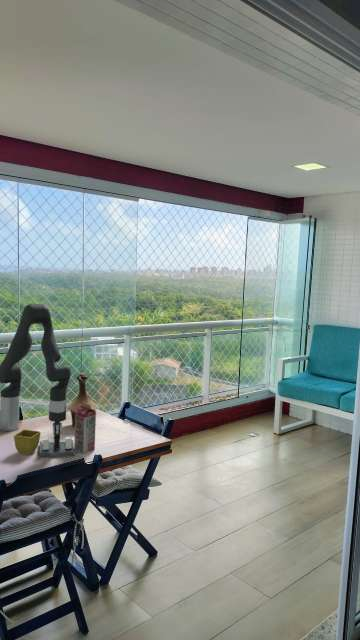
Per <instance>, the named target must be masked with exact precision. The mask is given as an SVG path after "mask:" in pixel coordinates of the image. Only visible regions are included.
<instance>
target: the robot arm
mask: <svg viewBox="0 0 360 640" xmlns="http://www.w3.org/2000/svg"><path fill="white" fill-rule="evenodd" d="M37 324H38V325H40V324H41V325H42V327H43V336H42V339H41V343H40V349H41V352H42V354H43V357H44V360H45V373H46V378H47V379H48V380H49V381H50V382H51V383H54V382H55V383H56V384H55V385H54V386H51V387H50V391H49V404H48V420H49V421H50V422H53V423H52V433H53V434H52V435H53V440H54V447H59V439H60V440H61V435H62V427H63V424H62V422H64V421H66V419H67V389H68V385H69V383H70V380H71V376H72V375H71V374H72V371H71V368H70V366H69V365H67V364H59V365H55V364H57V363H58V362H60V361H61V359H62V355H61V353H60V349H59V347H58V344H57V341H56V337H55V332H54V327H53V321H52V317H51V313H50V309H49V307H48V305H46V304H43V303H34V304H33V303H32V304H26V305H25V306H24V308H23V310H22V313H21V316H20V320H19V324H18V326H17V330H15V334H14V336H13V338H12V340H11V342H10V345H9V348H8V350H7V352H6V354H5V357H3V360H2V362H1V363H0V383H1V384H8V385H7V386H6V387H4V388H2V389H1V390H0V431H3V432H4V431H6V432H10V431H16V430H18V429H19V428H20V396H21V395H20V393H21V392H20V391H21V385H22V369H21V368H22V367H21V366H20V365H19V364H17V363H19V362H20V361H22V360H23V359H24V358H25V357H26V356H27V355H28V354H29V352H30V349H31V348H32V346H33V337H32V335H31V333H30V328H31V326H32V325H37ZM57 382H58V383H57Z"/></svg>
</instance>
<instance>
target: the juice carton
mask: <svg viewBox="0 0 360 640" xmlns="http://www.w3.org/2000/svg"><path fill="white" fill-rule="evenodd" d="M96 417H97V411H96V410H93V409H91V405H89V404H85V403H82V402H81V406H80V407H79V408H78V409H77V410H76V411H75V427H74V440H73V446H74V451H76V452H79V453H81V454H87V453H91V452H94V451H95V450H96V449H95V447H96V445H95V444H96V426H97V425H96V423H97V421H96V420H97V419H96Z"/></svg>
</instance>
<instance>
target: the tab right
mask: <svg viewBox="0 0 360 640" xmlns="http://www.w3.org/2000/svg"><path fill="white" fill-rule="evenodd" d="M65 440H66V442H65V448H66V449H70V448H71V445H72V440H73V437H65Z"/></svg>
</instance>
